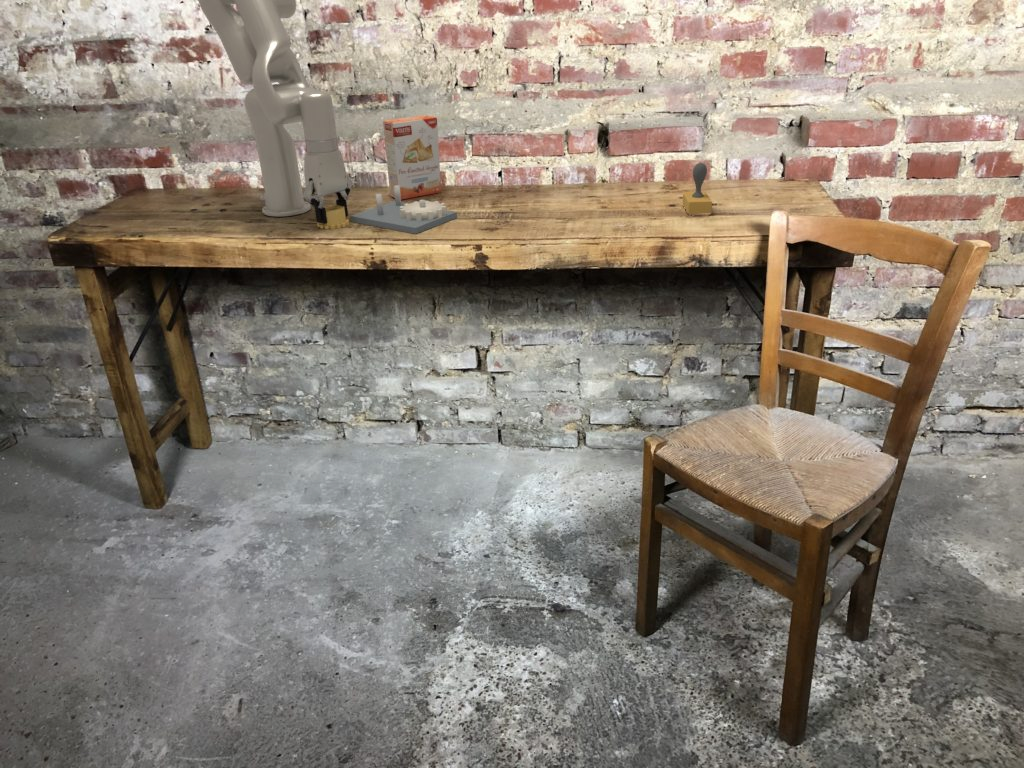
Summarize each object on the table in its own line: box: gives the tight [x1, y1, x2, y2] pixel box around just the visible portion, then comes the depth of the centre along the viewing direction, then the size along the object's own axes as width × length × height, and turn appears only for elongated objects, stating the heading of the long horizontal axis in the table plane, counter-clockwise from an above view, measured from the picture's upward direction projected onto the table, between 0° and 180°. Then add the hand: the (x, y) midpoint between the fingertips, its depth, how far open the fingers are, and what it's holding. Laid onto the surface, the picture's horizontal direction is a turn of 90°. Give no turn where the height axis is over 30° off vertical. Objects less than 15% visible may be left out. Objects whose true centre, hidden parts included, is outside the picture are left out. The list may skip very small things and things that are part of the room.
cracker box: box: [382, 114, 442, 201], centre depth 211 cm, size 14×6×21 cm, turn 126°
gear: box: [316, 204, 351, 230], centre depth 191 cm, size 8×8×4 cm
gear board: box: [349, 185, 458, 235], centre depth 192 cm, size 22×16×6 cm
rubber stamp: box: [682, 162, 713, 214], centre depth 191 cm, size 10×6×12 cm, turn 177°
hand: (332, 218), depth 191 cm, fingers closed on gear, 6 cm apart
